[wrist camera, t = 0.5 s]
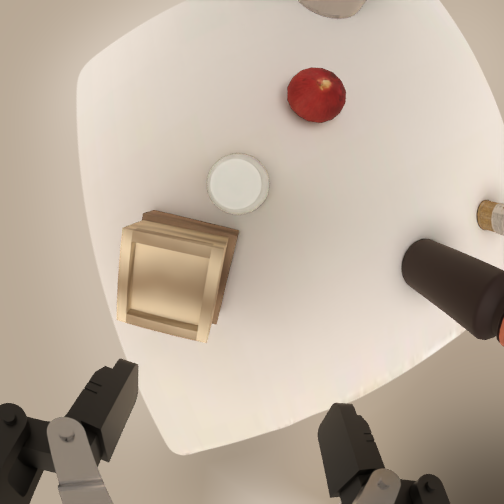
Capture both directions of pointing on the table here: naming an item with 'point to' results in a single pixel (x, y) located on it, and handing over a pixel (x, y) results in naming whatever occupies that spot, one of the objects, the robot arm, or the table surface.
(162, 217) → the tower base
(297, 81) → the onion
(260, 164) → the supplement bottle
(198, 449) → the table surface
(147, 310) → the tower top
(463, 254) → the vinegar
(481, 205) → the sprinkles bottle
